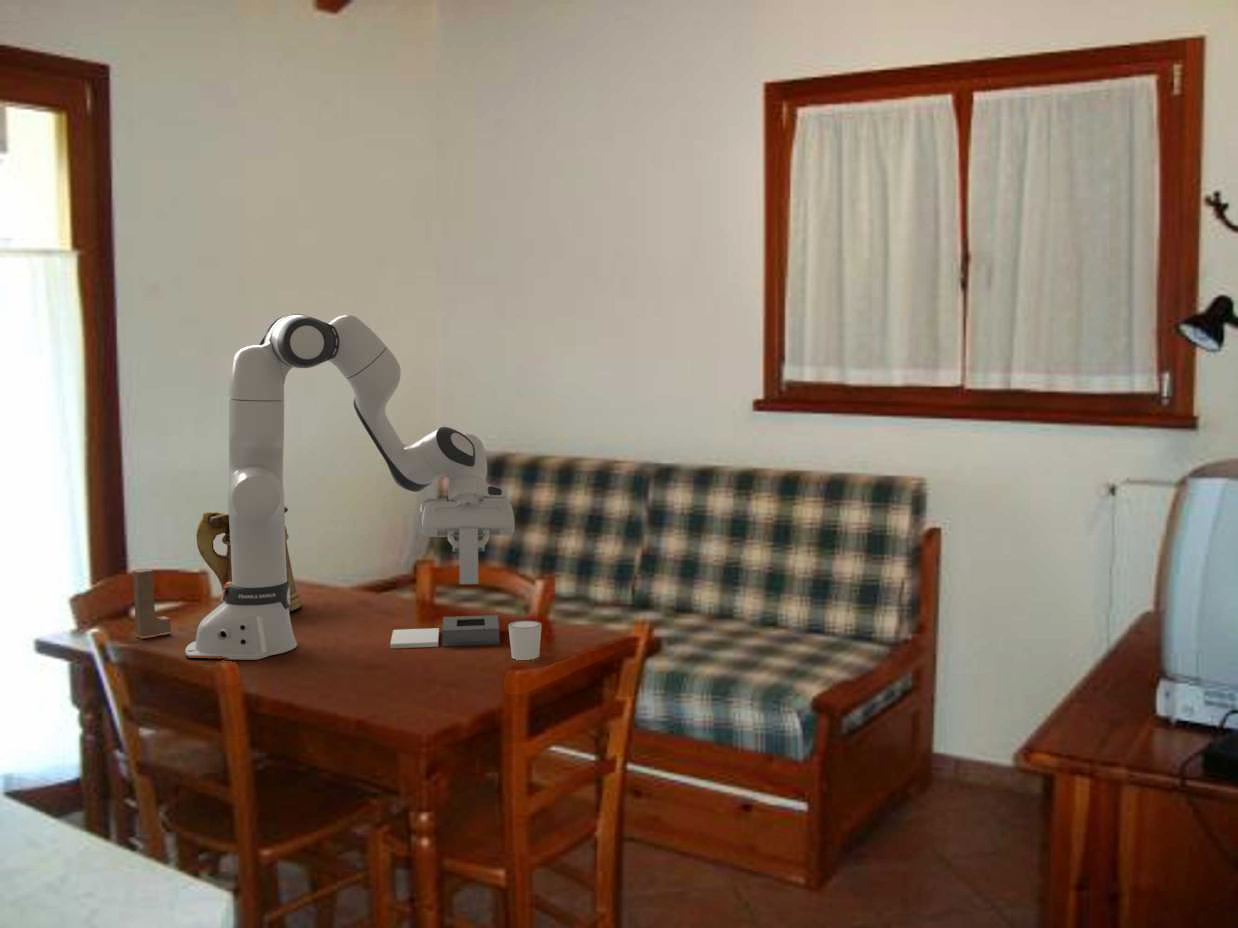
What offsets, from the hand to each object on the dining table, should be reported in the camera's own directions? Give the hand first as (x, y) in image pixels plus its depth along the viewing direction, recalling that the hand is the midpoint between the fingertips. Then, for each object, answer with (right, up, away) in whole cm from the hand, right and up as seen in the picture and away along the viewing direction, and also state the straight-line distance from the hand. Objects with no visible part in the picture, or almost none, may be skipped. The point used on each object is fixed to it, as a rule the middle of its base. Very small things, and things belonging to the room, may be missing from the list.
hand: (468, 549), depth 265 cm
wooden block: (-70, -20, +7) cm, 73 cm away
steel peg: (0, -7, +1) cm, 7 cm away
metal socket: (0, -19, +3) cm, 20 cm away
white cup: (+13, -21, -12) cm, 28 cm away
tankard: (-56, -17, +29) cm, 65 cm away
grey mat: (-12, -20, +1) cm, 23 cm away
